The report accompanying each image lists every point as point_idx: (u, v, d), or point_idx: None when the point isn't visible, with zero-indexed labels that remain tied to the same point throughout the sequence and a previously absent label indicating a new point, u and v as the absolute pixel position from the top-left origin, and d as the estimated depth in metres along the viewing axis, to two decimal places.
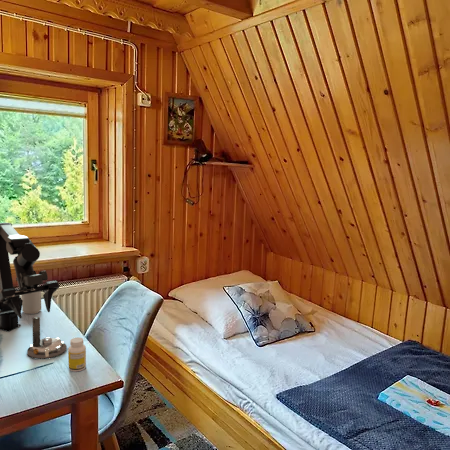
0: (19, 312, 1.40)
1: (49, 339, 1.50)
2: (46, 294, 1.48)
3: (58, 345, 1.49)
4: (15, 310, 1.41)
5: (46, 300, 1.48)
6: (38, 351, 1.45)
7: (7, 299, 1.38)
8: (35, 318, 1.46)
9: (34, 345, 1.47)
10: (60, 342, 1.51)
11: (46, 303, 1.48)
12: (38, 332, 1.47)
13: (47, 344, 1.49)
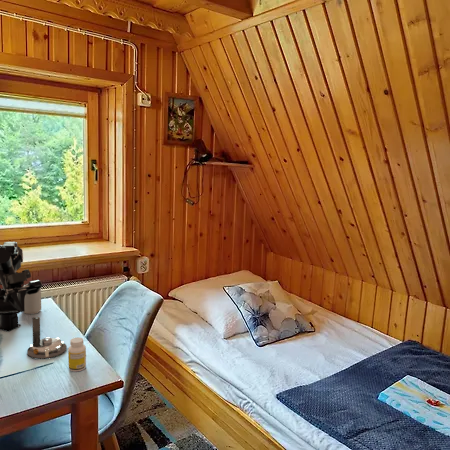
0: (20, 306, 1.52)
1: (49, 339, 1.50)
2: (19, 296, 1.54)
3: (58, 345, 1.49)
4: (16, 305, 1.52)
5: None
6: (38, 351, 1.45)
7: (8, 295, 1.50)
8: (35, 318, 1.46)
9: (34, 345, 1.47)
10: (60, 342, 1.51)
11: None
12: (38, 332, 1.47)
13: (47, 344, 1.49)
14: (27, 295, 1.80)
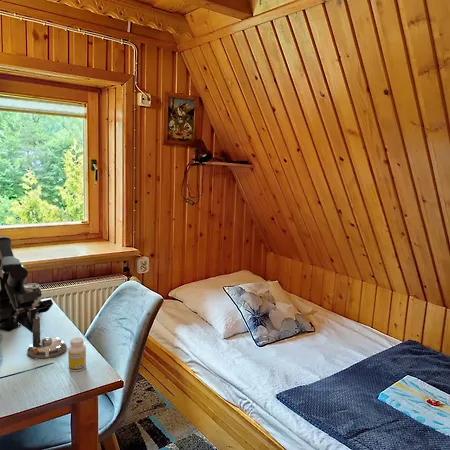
0: (31, 326, 1.48)
1: (49, 339, 1.50)
2: (29, 315, 1.50)
3: (58, 345, 1.49)
4: (26, 325, 1.48)
5: (30, 321, 1.50)
6: (38, 351, 1.45)
7: (18, 315, 1.46)
8: (35, 318, 1.46)
9: (34, 345, 1.47)
10: (60, 342, 1.52)
11: None
12: (38, 332, 1.47)
13: (47, 344, 1.49)
14: None
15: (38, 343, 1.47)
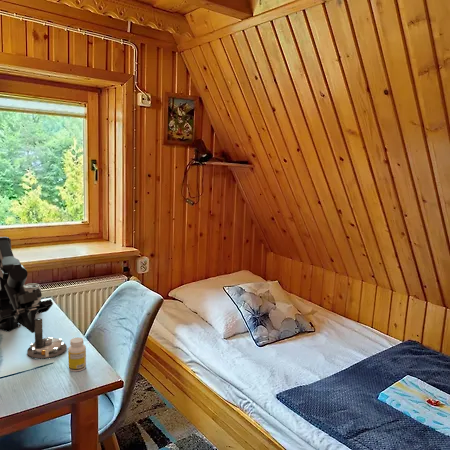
0: (31, 326, 1.48)
1: (49, 338, 1.50)
2: (29, 315, 1.51)
3: (60, 342, 1.52)
4: (26, 326, 1.49)
5: (30, 321, 1.50)
6: None
7: (18, 315, 1.47)
8: (38, 320, 1.45)
9: (38, 347, 1.46)
10: (58, 339, 1.53)
11: None
12: (42, 333, 1.46)
13: (50, 343, 1.49)
14: None
15: (42, 344, 1.47)
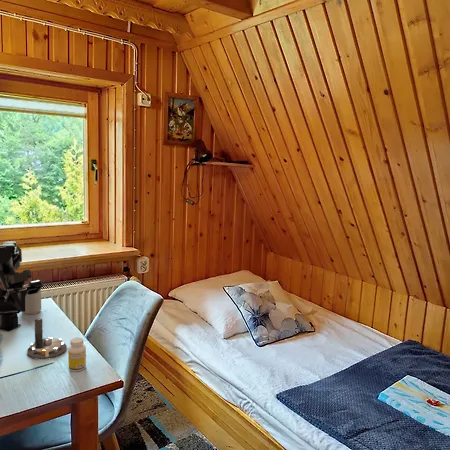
0: (21, 306, 1.52)
1: (49, 338, 1.50)
2: (19, 296, 1.54)
3: (60, 342, 1.52)
4: (17, 305, 1.52)
5: (20, 301, 1.54)
6: None
7: (9, 295, 1.50)
8: (38, 320, 1.45)
9: (38, 347, 1.46)
10: (58, 339, 1.53)
11: None
12: (42, 333, 1.46)
13: (50, 343, 1.49)
14: (27, 295, 1.80)
15: (42, 344, 1.47)
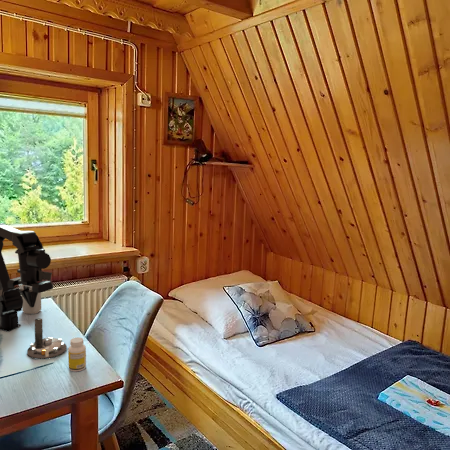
0: None
1: (49, 338, 1.50)
2: None
3: (60, 342, 1.52)
4: (33, 299, 1.57)
5: None
6: None
7: None
8: (38, 320, 1.45)
9: (38, 347, 1.46)
10: (58, 339, 1.53)
11: None
12: (42, 333, 1.46)
13: (50, 343, 1.49)
14: None
15: (42, 344, 1.47)
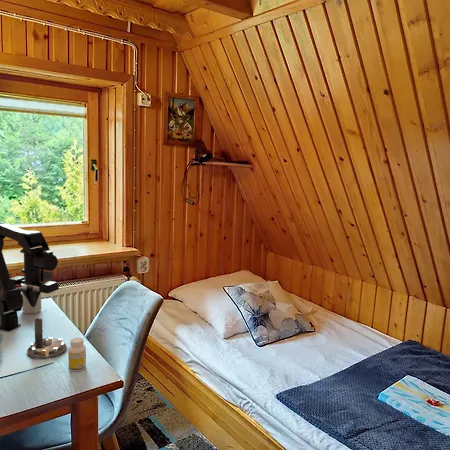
0: None
1: (49, 338, 1.50)
2: (32, 290, 1.58)
3: (60, 342, 1.52)
4: (35, 299, 1.58)
5: None
6: None
7: None
8: (38, 320, 1.45)
9: (38, 347, 1.46)
10: (58, 339, 1.53)
11: None
12: (42, 333, 1.46)
13: (50, 343, 1.49)
14: None
15: (42, 344, 1.47)
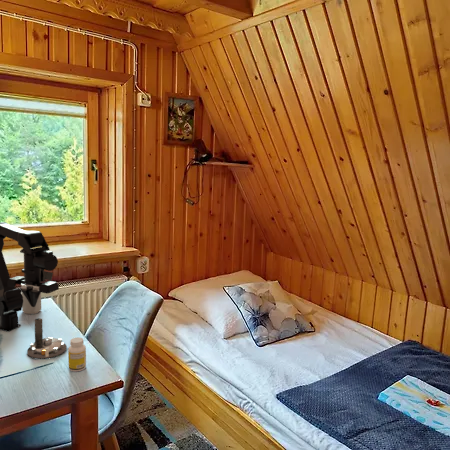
0: None
1: (49, 338, 1.50)
2: (32, 290, 1.58)
3: (60, 342, 1.52)
4: (35, 299, 1.58)
5: None
6: None
7: None
8: (38, 320, 1.45)
9: (38, 347, 1.46)
10: (58, 339, 1.53)
11: None
12: (42, 333, 1.46)
13: (50, 343, 1.49)
14: None
15: (42, 344, 1.47)
